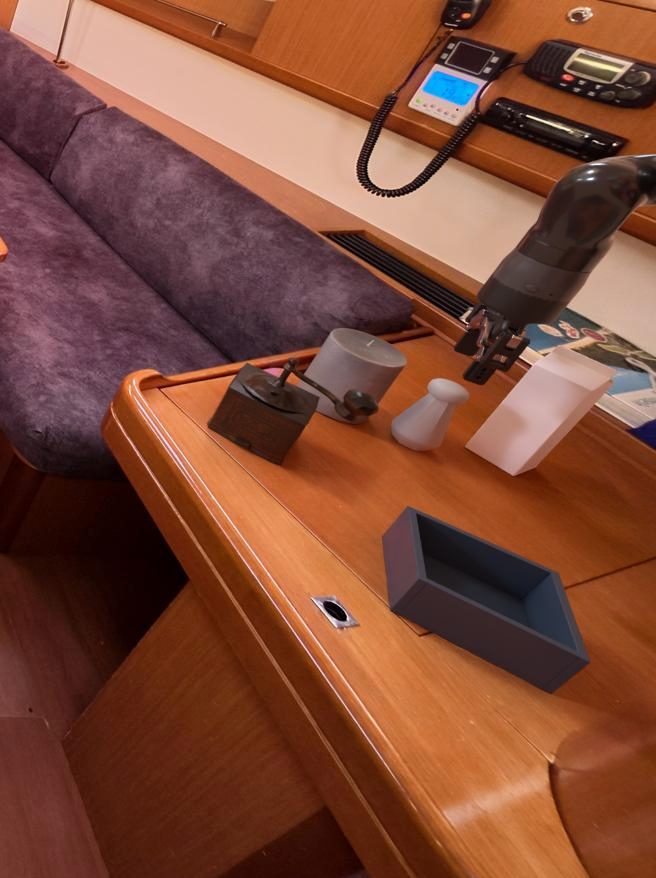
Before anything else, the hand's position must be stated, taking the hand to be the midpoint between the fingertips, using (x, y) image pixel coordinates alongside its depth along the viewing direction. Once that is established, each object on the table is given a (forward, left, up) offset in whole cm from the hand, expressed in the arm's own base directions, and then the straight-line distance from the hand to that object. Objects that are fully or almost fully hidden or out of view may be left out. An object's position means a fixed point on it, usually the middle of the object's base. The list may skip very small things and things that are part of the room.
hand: (466, 366), depth 97 cm
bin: (-2, +34, -17) cm, 38 cm away
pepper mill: (+18, +17, -17) cm, 30 cm away
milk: (-11, -6, -17) cm, 21 cm away
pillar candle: (+10, -2, -17) cm, 20 cm away
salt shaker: (0, 0, -17) cm, 17 cm away
